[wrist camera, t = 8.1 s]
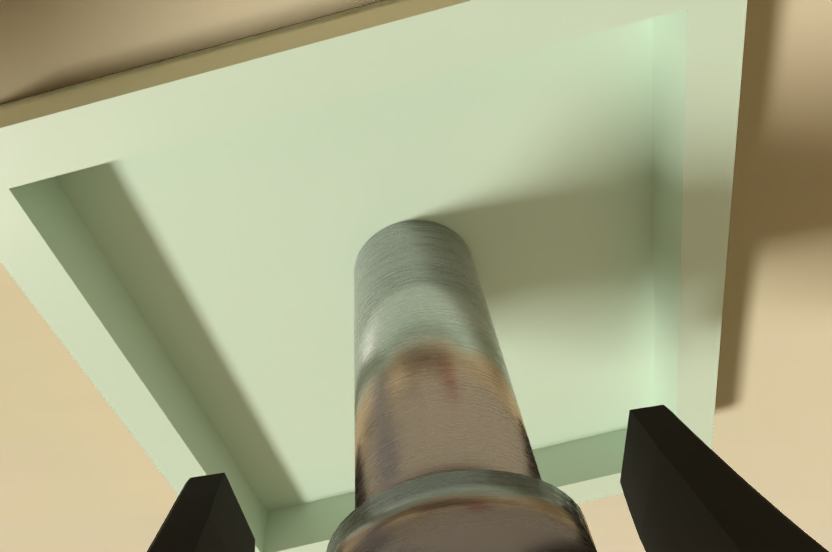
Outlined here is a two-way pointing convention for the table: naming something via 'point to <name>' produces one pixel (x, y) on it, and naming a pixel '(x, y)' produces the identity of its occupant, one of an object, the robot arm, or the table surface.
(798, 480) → the table surface
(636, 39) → the tray
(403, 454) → the pin
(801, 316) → the table surface
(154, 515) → the table surface
